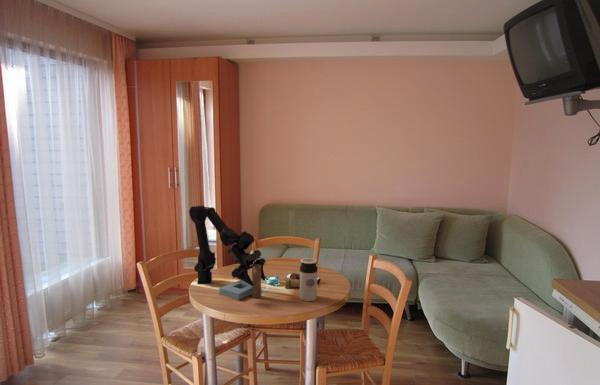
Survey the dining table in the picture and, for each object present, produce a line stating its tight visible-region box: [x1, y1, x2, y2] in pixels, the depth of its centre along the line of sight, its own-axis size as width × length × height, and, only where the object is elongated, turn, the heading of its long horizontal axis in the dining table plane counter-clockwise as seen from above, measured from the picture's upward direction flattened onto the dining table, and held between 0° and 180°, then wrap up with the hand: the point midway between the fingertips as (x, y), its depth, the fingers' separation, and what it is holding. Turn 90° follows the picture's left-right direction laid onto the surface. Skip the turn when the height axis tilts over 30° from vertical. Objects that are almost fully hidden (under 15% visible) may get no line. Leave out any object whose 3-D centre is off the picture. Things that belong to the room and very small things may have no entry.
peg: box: [251, 264, 262, 299], centre depth 175 cm, size 4×4×15 cm
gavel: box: [284, 272, 300, 289], centre depth 197 cm, size 21×5×10 cm
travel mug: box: [299, 257, 318, 302], centre depth 173 cm, size 8×8×18 cm
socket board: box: [218, 279, 252, 301], centre depth 181 cm, size 12×16×3 cm
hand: (258, 282), depth 174 cm, fingers open, 8 cm apart
